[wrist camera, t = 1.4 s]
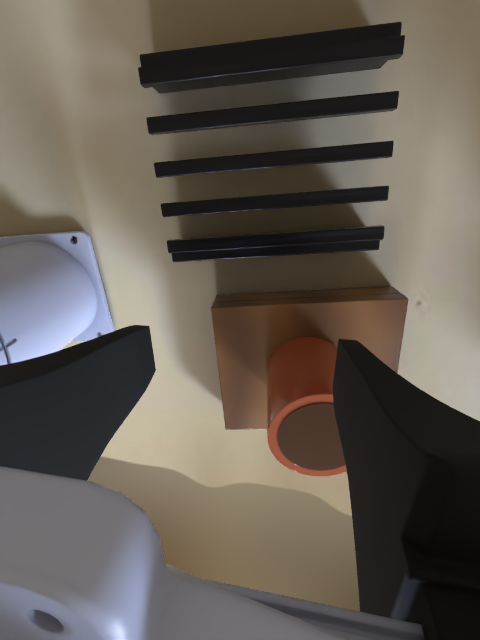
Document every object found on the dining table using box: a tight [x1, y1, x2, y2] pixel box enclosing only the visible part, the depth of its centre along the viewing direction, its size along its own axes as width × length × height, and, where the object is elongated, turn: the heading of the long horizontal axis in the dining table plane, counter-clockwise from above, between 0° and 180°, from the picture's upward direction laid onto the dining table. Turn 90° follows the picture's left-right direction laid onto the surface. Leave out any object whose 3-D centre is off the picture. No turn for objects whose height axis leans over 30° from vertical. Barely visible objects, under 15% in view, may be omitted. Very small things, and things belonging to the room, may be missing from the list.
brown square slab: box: [211, 287, 408, 430], centre depth 22 cm, size 12×10×2 cm
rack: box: [138, 22, 405, 262], centre depth 17 cm, size 12×10×3 cm
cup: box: [266, 337, 347, 476], centre depth 18 cm, size 5×5×6 cm
